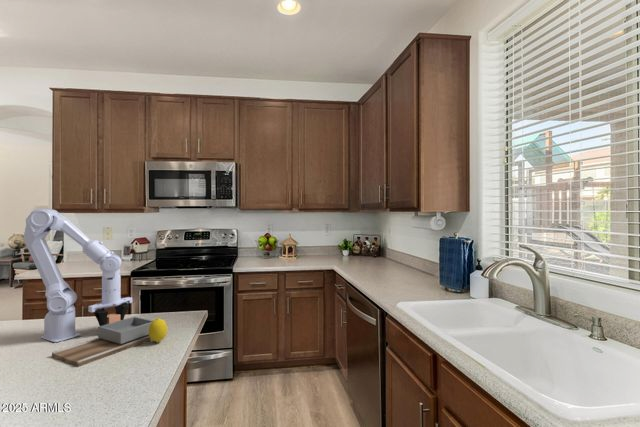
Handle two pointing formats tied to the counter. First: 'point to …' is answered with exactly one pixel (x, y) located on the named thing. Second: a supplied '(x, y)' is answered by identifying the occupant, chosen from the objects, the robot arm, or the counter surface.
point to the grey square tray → (125, 329)
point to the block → (112, 318)
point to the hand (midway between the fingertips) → (111, 327)
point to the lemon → (157, 330)
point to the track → (94, 350)
